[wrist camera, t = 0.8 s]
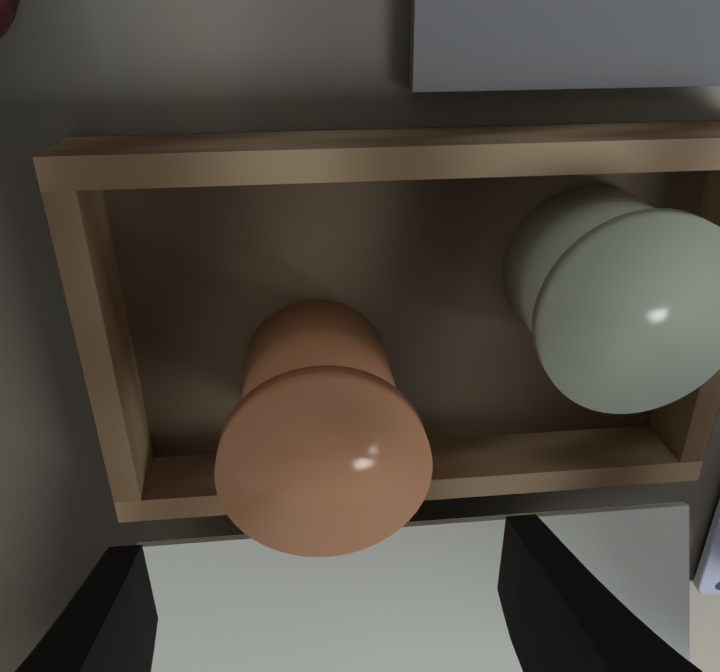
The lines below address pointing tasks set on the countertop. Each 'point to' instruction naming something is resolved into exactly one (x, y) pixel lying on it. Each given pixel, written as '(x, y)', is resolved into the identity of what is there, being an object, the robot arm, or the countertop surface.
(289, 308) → the pot
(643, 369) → the glazed pot
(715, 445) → the countertop surface
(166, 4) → the countertop surface
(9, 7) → the vegetable
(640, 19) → the slate mat
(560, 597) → the robot arm
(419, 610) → the lid
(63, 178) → the brown rectangular frame
